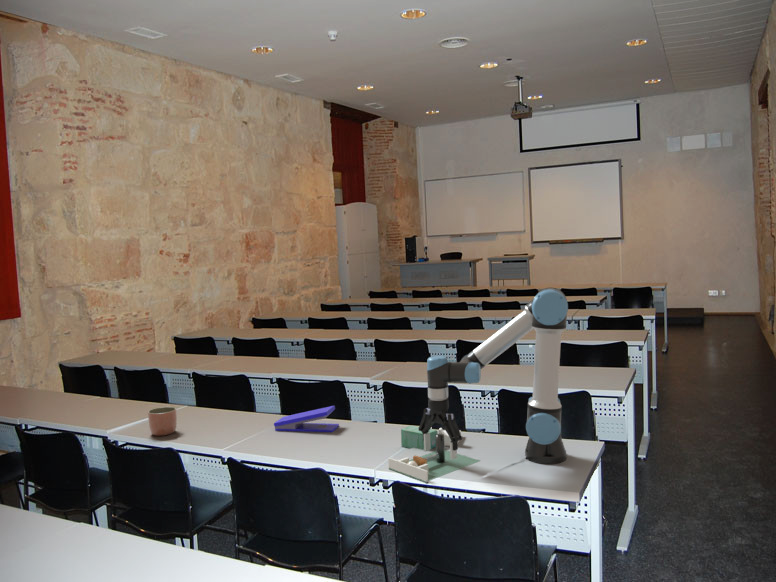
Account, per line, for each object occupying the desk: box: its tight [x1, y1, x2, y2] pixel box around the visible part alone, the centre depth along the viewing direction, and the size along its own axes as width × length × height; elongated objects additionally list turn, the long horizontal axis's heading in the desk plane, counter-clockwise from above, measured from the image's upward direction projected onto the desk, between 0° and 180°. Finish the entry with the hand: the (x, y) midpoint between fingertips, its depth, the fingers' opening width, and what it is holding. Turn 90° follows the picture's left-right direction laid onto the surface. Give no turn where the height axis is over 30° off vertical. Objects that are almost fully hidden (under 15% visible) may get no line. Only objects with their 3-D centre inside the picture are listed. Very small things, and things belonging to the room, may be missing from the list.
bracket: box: [438, 427, 462, 447], centre depth 259 cm, size 13×7×8 cm, turn 166°
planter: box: [147, 406, 178, 437], centre depth 290 cm, size 12×12×11 cm
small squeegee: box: [412, 433, 446, 466], centre depth 231 cm, size 6×13×10 cm, turn 131°
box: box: [400, 425, 439, 450], centre depth 255 cm, size 7×14×8 cm, turn 52°
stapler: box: [273, 405, 340, 433], centre depth 288 cm, size 12×28×10 cm, turn 77°
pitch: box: [387, 449, 481, 484], centre depth 232 cm, size 20×28×4 cm
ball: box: [408, 461, 418, 467], centre depth 224 cm, size 4×4×4 cm
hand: (440, 454), depth 234 cm, fingers open, 13 cm apart
